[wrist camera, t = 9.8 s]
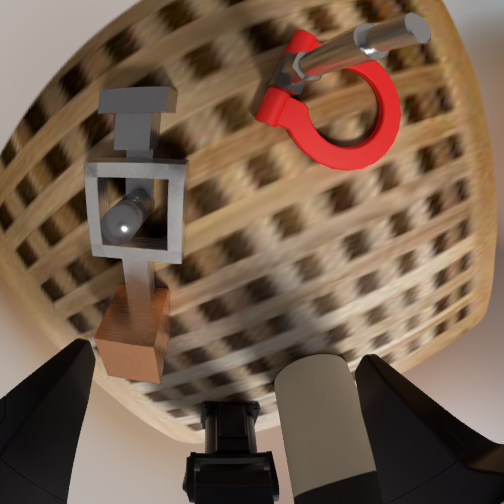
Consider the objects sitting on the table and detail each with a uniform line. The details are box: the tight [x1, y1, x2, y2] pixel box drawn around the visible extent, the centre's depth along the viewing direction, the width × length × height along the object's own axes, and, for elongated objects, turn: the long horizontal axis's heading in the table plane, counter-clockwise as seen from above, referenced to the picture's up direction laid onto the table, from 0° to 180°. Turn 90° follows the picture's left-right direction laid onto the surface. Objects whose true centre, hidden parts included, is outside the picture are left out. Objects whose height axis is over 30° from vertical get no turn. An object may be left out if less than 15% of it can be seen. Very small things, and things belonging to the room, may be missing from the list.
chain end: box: [84, 158, 189, 384], centre depth 16 cm, size 14×6×6 cm, turn 173°
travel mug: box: [274, 354, 384, 504], centre depth 19 cm, size 8×8×18 cm
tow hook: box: [255, 13, 431, 170], centre depth 10 cm, size 8×13×9 cm
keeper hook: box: [98, 87, 178, 245], centre depth 14 cm, size 8×4×4 cm, turn 173°
